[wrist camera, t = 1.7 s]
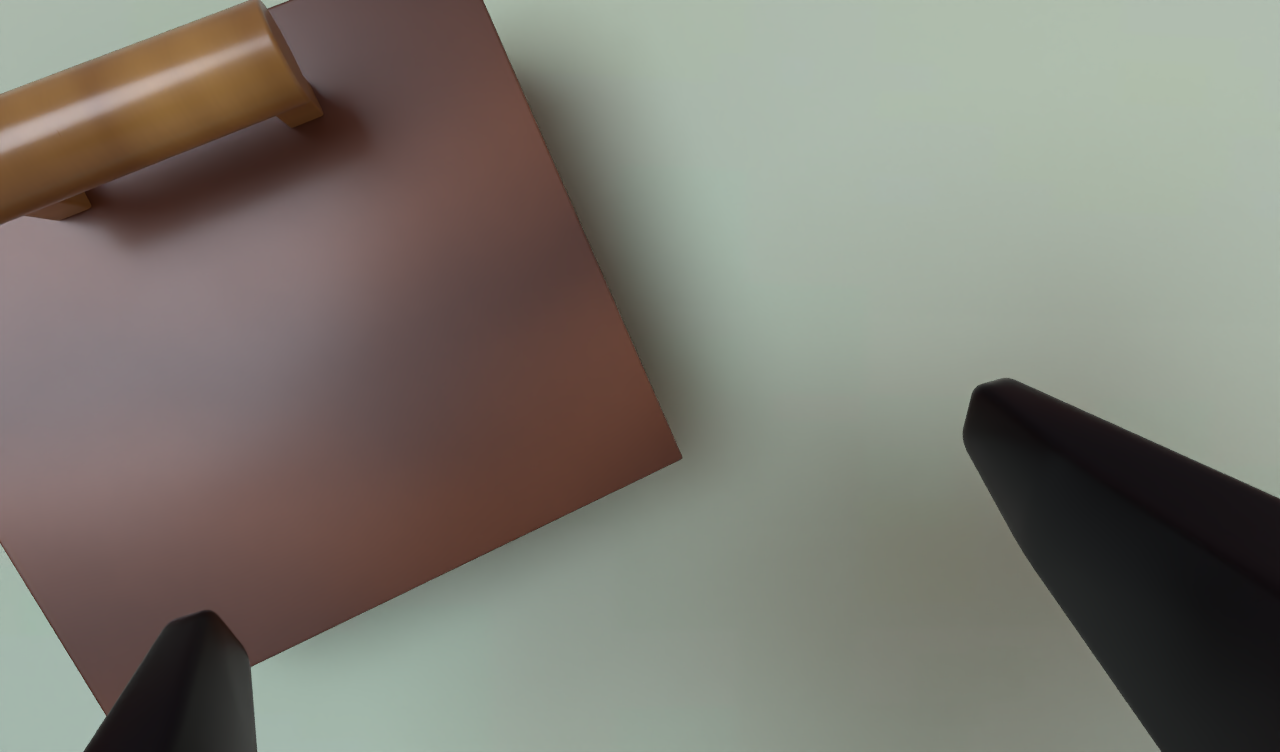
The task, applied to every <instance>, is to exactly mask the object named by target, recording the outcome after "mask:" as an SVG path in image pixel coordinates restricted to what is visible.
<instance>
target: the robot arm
mask: <svg viewBox="0 0 1280 752" xmlns="http://www.w3.org/2000/svg"><path fill="white" fill-rule="evenodd" d="M963 441H964V445H965V448H966V450H967V452H968V454H969V456H970V458H971V460H972V461H973V463H974V465H975V467H976V469H977V470H978V472H979V474H980V476H981V478H982V480H983V481H984V483H985V485H986V487H987V489H988V491H989V492H990V494H991V496H992V498H993V500H994V501H995V503H996V505H997V507H998V509H999V511H1000V512H1001V514H1002V516H1003V518H1004V520H1005V522H1006V523H1007V525H1008V527H1009V529H1010V531H1011V532H1012V534H1013V536H1014V538H1015V540H1016V541H1017V543H1018V545H1019V546H1020V548H1021V550H1022V551H1023V553H1024V555H1025V556H1026V558H1027V559H1028V561H1029V562H1030V564H1031V565H1032V567H1033V568H1034V570H1035V571H1036V572H1037V574H1038V575H1039V577H1040V578H1041V580H1042V581H1043V583H1044V584H1045V585H1046V587H1047V588H1048V590H1049V591H1050V593H1051V594H1052V595H1053V597H1054V598H1055V600H1056V601H1057V603H1058V604H1059V605H1060V607H1061V608H1062V610H1063V611H1064V613H1065V614H1066V616H1067V617H1068V618H1069V620H1070V621H1071V623H1072V624H1073V626H1074V627H1075V628H1076V630H1077V631H1078V633H1079V634H1080V636H1081V637H1082V638H1083V640H1084V641H1085V643H1086V644H1087V646H1088V647H1089V649H1090V650H1091V651H1092V653H1093V654H1094V656H1095V657H1096V659H1097V660H1098V661H1099V663H1100V664H1101V666H1102V667H1103V669H1104V670H1105V671H1106V673H1107V674H1108V676H1109V677H1110V679H1111V680H1112V682H1113V683H1114V684H1115V686H1116V687H1117V689H1118V690H1119V692H1120V693H1121V694H1122V696H1123V697H1124V699H1125V700H1126V702H1127V703H1128V704H1129V706H1130V707H1131V709H1132V710H1133V712H1134V713H1135V715H1136V716H1137V717H1138V719H1139V720H1140V722H1141V723H1142V725H1143V726H1144V727H1145V729H1146V730H1147V732H1148V733H1149V735H1150V736H1151V737H1152V739H1153V740H1154V742H1155V743H1156V745H1157V746H1158V748H1159V749H1160V750H1161V752H1280V499H1279V498H1277V497H1275V496H1272V495H1270V494H1268V493H1266V492H1264V491H1261V490H1259V489H1257V488H1255V487H1252V486H1250V485H1248V484H1246V483H1244V482H1241V481H1239V480H1237V479H1235V478H1232V477H1230V476H1228V475H1226V474H1223V473H1221V472H1219V471H1217V470H1215V469H1212V468H1210V467H1208V466H1206V465H1203V464H1201V463H1199V462H1197V461H1195V460H1192V459H1190V458H1188V457H1186V456H1183V455H1181V454H1179V453H1177V452H1174V451H1172V450H1170V449H1168V448H1166V447H1163V446H1161V445H1159V444H1157V443H1154V442H1152V441H1150V440H1148V439H1146V438H1143V437H1141V436H1139V435H1137V434H1134V433H1132V432H1130V431H1128V430H1125V429H1123V428H1121V427H1119V426H1117V425H1114V424H1112V423H1110V422H1108V421H1105V420H1103V419H1101V418H1099V417H1097V416H1094V415H1092V414H1090V413H1088V412H1085V411H1083V410H1081V409H1079V408H1076V407H1074V406H1072V405H1070V404H1068V403H1065V402H1063V401H1061V400H1059V399H1056V398H1054V397H1052V396H1050V395H1048V394H1045V393H1043V392H1041V391H1039V390H1036V389H1034V388H1032V387H1030V386H1027V385H1025V384H1023V383H1021V382H1019V381H1016V380H1014V379H1010V378H1002V379H998V380H994V381H991V382H987V383H984V384H980V385H978V386H977V387H976V388H975V389H974V390H973V392H972V395H971V399H970V403H969V407H968V411H967V415H966V419H965V423H964V427H963ZM84 752H257V743H256V730H255V717H254V704H253V691H252V679H251V667H250V661H249V657H248V654H247V652H246V650H245V648H244V646H243V645H242V644H241V642H240V641H239V640H238V639H237V637H236V636H235V635H234V634H233V632H232V631H231V630H230V629H229V627H228V626H227V625H226V624H225V623H224V621H223V620H222V619H221V618H220V616H219V615H218V614H217V613H216V612H214V611H212V610H209V609H208V610H202V611H198V612H195V613H191V614H188V615H184V616H181V617H178V618H175V619H173V620H171V621H170V622H169V623H168V624H167V625H166V626H165V627H164V628H163V629H162V631H161V633H160V634H159V636H158V637H157V639H156V640H155V642H154V643H153V645H152V646H151V648H150V650H149V651H148V653H147V654H146V656H145V657H144V659H143V660H142V662H141V664H140V665H139V667H138V668H137V670H136V671H135V673H134V674H133V676H132V677H131V679H130V681H129V682H128V684H127V685H126V687H125V688H124V690H123V691H122V693H121V695H120V696H119V698H118V699H117V701H116V702H115V704H114V705H113V707H112V708H111V710H110V712H109V713H108V715H107V716H106V718H105V719H104V721H103V722H102V724H101V725H100V727H99V729H98V730H97V732H96V733H95V735H94V736H93V738H92V739H91V741H90V743H89V744H88V746H87V747H86V749H85V750H84Z"/></svg>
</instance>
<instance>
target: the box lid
mask: <svg viewBox="0 0 1280 752" xmlns="http://www.w3.org/2000/svg"><path fill="white" fill-rule="evenodd" d="M681 459H682V455H681V452H680V450H679V448H678V446H677V443H676V441H675V439H674V436H673V434H672V432H671V430H670V427H669V425H668V423H667V420H666V418H665V416H664V413H663V411H662V409H661V407H660V404H659V402H658V400H657V397H656V395H655V393H654V391H653V388H652V386H651V384H650V381H649V379H648V377H647V375H646V372H645V370H644V368H643V365H642V363H641V361H640V359H639V356H638V354H637V352H636V349H635V347H634V345H633V342H632V340H631V338H630V336H629V333H628V331H627V329H626V326H625V324H624V322H623V320H622V317H621V315H620V313H619V310H618V308H617V306H616V304H615V301H614V299H613V297H612V294H611V292H610V290H609V288H608V285H607V283H606V281H605V278H604V276H603V274H602V272H601V269H600V267H599V265H598V262H597V260H596V258H595V255H594V253H593V251H592V249H591V246H590V244H589V242H588V239H587V237H586V235H585V233H584V230H583V228H582V226H581V223H580V221H579V219H578V217H577V214H576V212H575V210H574V207H573V205H572V203H571V201H570V198H569V196H568V194H567V191H566V189H565V187H564V185H563V182H562V180H561V178H560V175H559V173H558V171H557V168H556V166H555V164H554V162H553V159H552V157H551V155H550V152H549V150H548V148H547V146H546V143H545V141H544V139H543V136H542V134H541V132H540V130H539V127H538V125H537V123H536V120H535V118H534V116H533V114H532V111H531V109H530V107H529V104H528V102H527V100H526V97H525V95H524V93H523V91H522V88H521V86H520V84H519V81H518V79H517V77H516V75H515V72H514V70H513V68H512V65H511V63H510V61H509V59H508V56H507V54H506V52H505V49H504V47H503V45H502V43H501V40H500V38H499V36H498V33H497V31H496V29H495V27H494V24H493V22H492V20H491V17H490V15H489V13H488V10H487V8H486V6H485V4H484V1H483V0H289V1H287V2H284V3H281V4H279V5H276V6H273V7H271V8H268V9H267V8H266V6H265V5H264V4H263V3H262V2H261V1H260V0H249V1H246V2H244V3H241V4H238V5H236V6H233V7H230V8H228V9H225V10H222V11H220V12H217V13H214V14H212V15H209V16H206V17H204V18H201V19H198V20H196V21H193V22H190V23H188V24H185V25H182V26H180V27H177V28H174V29H172V30H169V31H166V32H164V33H161V34H159V35H156V36H153V37H151V38H148V39H145V40H143V41H140V42H137V43H135V44H132V45H129V46H127V47H124V48H121V49H119V50H116V51H113V52H111V53H108V54H105V55H103V56H100V57H97V58H95V59H92V60H89V61H87V62H84V63H81V64H79V65H76V66H74V67H71V68H68V69H66V70H63V71H60V72H58V73H55V74H52V75H50V76H47V77H44V78H42V79H39V80H36V81H34V82H31V83H28V84H26V85H23V86H20V87H18V88H15V89H12V90H10V91H7V92H4V93H2V94H0V543H1V545H2V547H3V548H4V550H5V552H6V553H7V555H8V556H9V558H10V560H11V561H12V563H13V565H14V566H15V568H16V569H17V571H18V573H19V574H20V576H21V578H22V579H23V581H24V583H25V584H26V586H27V587H28V589H29V591H30V592H31V594H32V596H33V597H34V599H35V600H36V602H37V604H38V605H39V607H40V609H41V610H42V612H43V613H44V615H45V617H46V618H47V620H48V622H49V623H50V625H51V627H52V628H53V630H54V631H55V633H56V635H57V636H58V638H59V640H60V641H61V643H62V644H63V646H64V648H65V649H66V651H67V653H68V654H69V656H70V657H71V659H72V661H73V662H74V664H75V666H76V667H77V669H78V670H79V672H80V674H81V675H82V677H83V679H84V680H85V682H86V684H87V685H88V687H89V688H90V690H91V692H92V693H93V695H94V697H95V698H96V700H97V701H98V703H99V705H100V706H101V708H102V710H103V711H104V713H105V714H106V716H107V715H108V713H109V712H110V710H111V708H112V707H113V705H114V704H115V702H116V701H117V699H118V698H119V696H120V695H121V693H122V691H123V690H124V688H125V687H126V685H127V684H128V682H129V681H130V679H131V677H132V676H133V674H134V673H135V671H136V670H137V668H138V667H139V665H140V664H141V662H142V660H143V659H144V657H145V656H146V654H147V653H148V651H149V650H150V648H151V646H152V645H153V643H154V642H155V640H156V639H157V637H158V636H159V634H160V633H161V631H162V629H163V628H164V627H165V626H166V625H167V624H168V623H169V622H170V621H171V620H173V619H175V618H178V617H181V616H184V615H188V614H191V613H195V612H198V611H202V610H208V609H209V610H212V611H214V612H216V613H217V614H218V615H219V616H220V618H221V619H222V620H223V621H224V623H225V624H226V625H227V626H228V627H229V629H230V630H231V631H232V632H233V634H234V635H235V636H236V637H237V639H238V640H239V641H240V642H241V644H242V645H243V646H244V648H245V650H246V652H247V654H248V657H249V661H250V667H252V666H254V665H256V664H258V663H260V662H262V661H264V660H266V659H268V658H270V657H272V656H275V655H277V654H279V653H281V652H283V651H285V650H287V649H289V648H291V647H293V646H295V645H297V644H299V643H302V642H304V641H306V640H308V639H310V638H312V637H314V636H316V635H318V634H320V633H322V632H324V631H326V630H328V629H331V628H333V627H335V626H337V625H339V624H341V623H343V622H345V621H347V620H349V619H351V618H353V617H355V616H357V615H360V614H362V613H364V612H366V611H368V610H370V609H372V608H374V607H376V606H378V605H380V604H382V603H384V602H387V601H389V600H391V599H393V598H395V597H397V596H399V595H401V594H403V593H405V592H407V591H409V590H411V589H413V588H416V587H418V586H420V585H422V584H424V583H426V582H428V581H430V580H432V579H434V578H436V577H438V576H440V575H442V574H445V573H447V572H449V571H451V570H453V569H455V568H457V567H459V566H461V565H463V564H465V563H467V562H469V561H472V560H474V559H476V558H478V557H480V556H482V555H484V554H486V553H488V552H490V551H492V550H494V549H496V548H498V547H501V546H503V545H505V544H507V543H509V542H511V541H513V540H515V539H517V538H519V537H521V536H523V535H525V534H528V533H530V532H532V531H534V530H536V529H538V528H540V527H542V526H544V525H546V524H548V523H550V522H552V521H554V520H557V519H559V518H561V517H563V516H565V515H567V514H569V513H571V512H573V511H575V510H577V509H579V508H581V507H583V506H586V505H588V504H590V503H592V502H594V501H596V500H598V499H600V498H602V497H604V496H606V495H608V494H610V493H613V492H615V491H617V490H619V489H621V488H623V487H625V486H627V485H629V484H631V483H633V482H635V481H637V480H639V479H642V478H644V477H646V476H648V475H650V474H652V473H654V472H656V471H658V470H660V469H662V468H664V467H666V466H668V465H671V464H673V463H675V462H677V461H679V460H681Z"/></svg>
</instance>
